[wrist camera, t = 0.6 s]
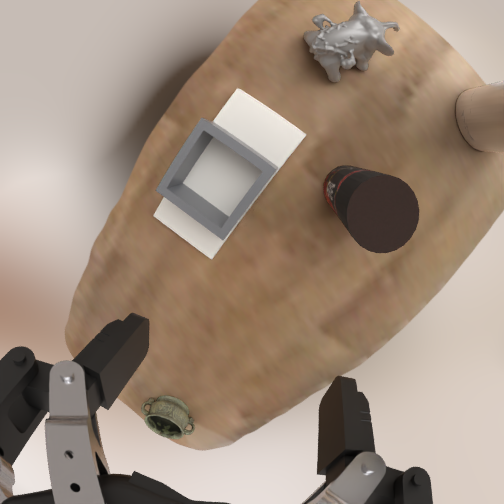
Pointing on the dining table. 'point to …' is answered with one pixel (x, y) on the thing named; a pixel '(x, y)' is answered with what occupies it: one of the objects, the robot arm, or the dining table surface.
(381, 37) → the gray elephant figurine
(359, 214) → the deodorant
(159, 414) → the vessel
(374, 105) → the dining table surface
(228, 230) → the socket stand
